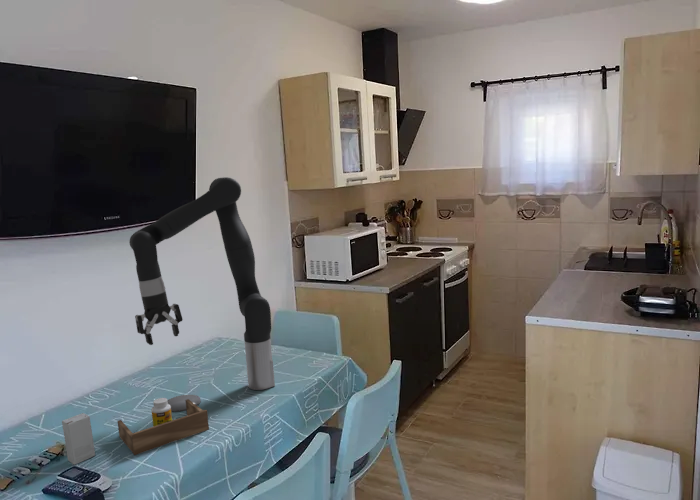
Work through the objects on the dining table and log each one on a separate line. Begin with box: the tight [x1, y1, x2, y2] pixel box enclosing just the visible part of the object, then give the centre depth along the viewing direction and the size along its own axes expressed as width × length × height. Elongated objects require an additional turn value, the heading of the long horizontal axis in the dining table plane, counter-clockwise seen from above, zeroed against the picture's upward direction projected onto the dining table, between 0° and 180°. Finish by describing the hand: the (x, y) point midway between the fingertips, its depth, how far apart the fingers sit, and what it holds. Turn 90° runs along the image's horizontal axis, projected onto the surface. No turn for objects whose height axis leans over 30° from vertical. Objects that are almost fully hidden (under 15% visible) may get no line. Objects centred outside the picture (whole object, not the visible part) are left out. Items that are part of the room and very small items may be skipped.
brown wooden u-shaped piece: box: [116, 399, 210, 456], centre depth 167 cm, size 15×22×6 cm
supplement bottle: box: [151, 397, 173, 427], centre depth 167 cm, size 6×6×10 cm
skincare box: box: [61, 412, 96, 465], centre depth 154 cm, size 6×4×12 cm
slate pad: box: [167, 394, 201, 413], centre depth 188 cm, size 12×12×1 cm
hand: (163, 340), depth 181 cm, fingers open, 8 cm apart
